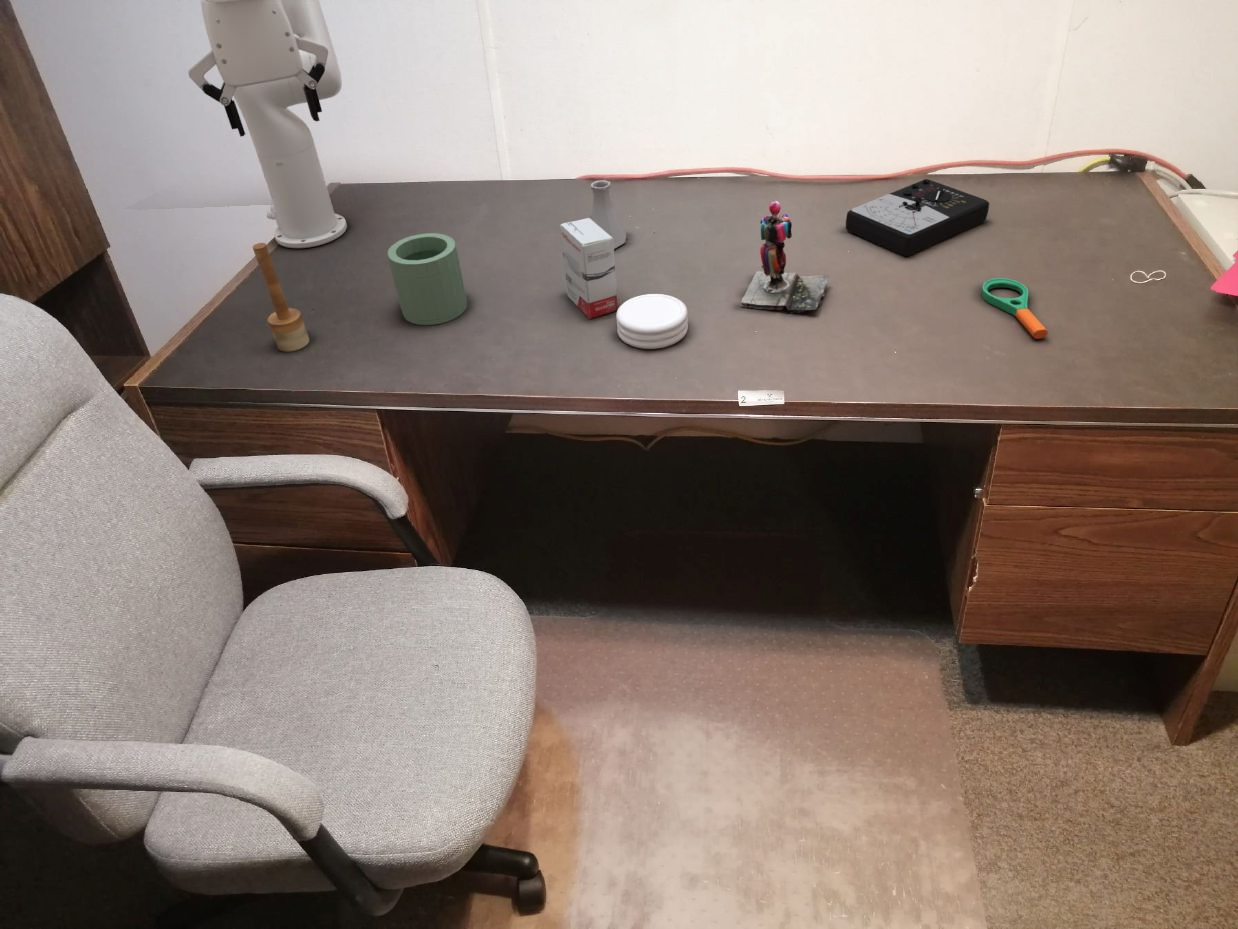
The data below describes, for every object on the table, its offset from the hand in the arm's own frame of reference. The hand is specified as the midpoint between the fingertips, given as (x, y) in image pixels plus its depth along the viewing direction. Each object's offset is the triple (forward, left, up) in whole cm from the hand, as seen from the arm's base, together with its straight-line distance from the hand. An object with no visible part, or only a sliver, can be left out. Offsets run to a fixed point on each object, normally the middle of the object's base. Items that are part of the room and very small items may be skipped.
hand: (279, 125), depth 119 cm
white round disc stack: (+48, +13, -29) cm, 57 cm away
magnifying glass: (+93, +36, -29) cm, 103 cm away
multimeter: (+74, +58, -29) cm, 98 cm away
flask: (+28, +36, -29) cm, 54 cm away
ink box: (+36, +17, -29) cm, 49 cm away
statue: (+62, +29, -29) cm, 74 cm away
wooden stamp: (0, -9, -29) cm, 30 cm away
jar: (+14, +7, -29) cm, 32 cm away
